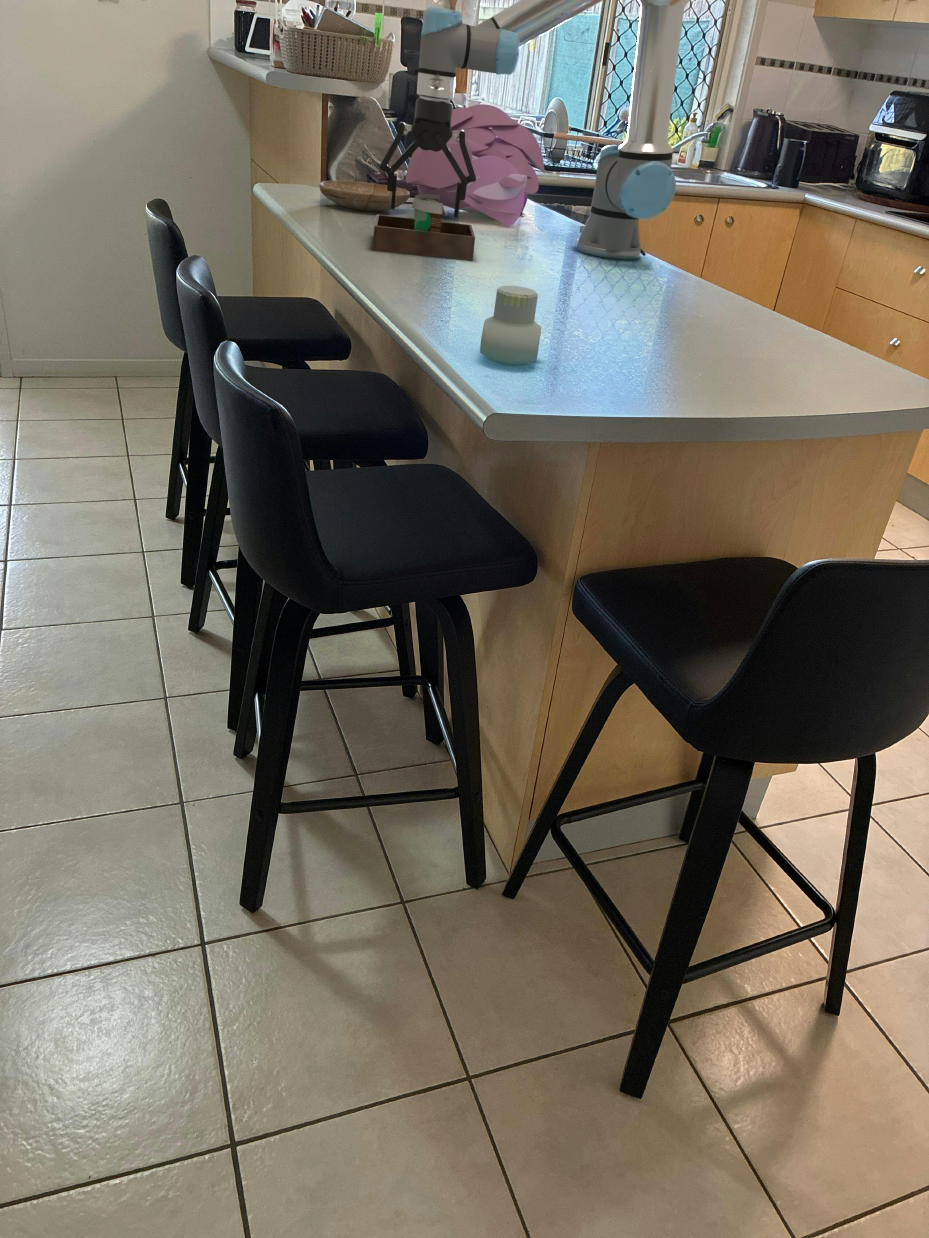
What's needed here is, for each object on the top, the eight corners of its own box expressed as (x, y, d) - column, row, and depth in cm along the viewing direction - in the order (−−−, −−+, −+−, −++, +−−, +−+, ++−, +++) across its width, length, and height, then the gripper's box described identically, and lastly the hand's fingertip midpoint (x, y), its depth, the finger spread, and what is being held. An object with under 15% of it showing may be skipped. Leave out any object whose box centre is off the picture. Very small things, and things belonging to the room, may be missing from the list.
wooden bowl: (425, 212, 242) (427, 192, 239) (371, 219, 225) (372, 197, 222) (357, 197, 251) (357, 177, 249) (299, 202, 234) (300, 181, 231)
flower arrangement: (521, 235, 257) (540, 124, 248) (545, 234, 236) (568, 112, 227) (399, 211, 248) (415, 95, 239) (413, 206, 227) (431, 79, 218)
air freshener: (483, 346, 139) (491, 278, 134) (537, 354, 139) (547, 286, 134) (477, 366, 130) (485, 294, 125) (534, 374, 130) (545, 302, 124)
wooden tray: (469, 247, 207) (471, 224, 204) (472, 261, 194) (475, 237, 192) (375, 237, 205) (376, 214, 202) (372, 250, 192) (374, 226, 189)
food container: (407, 240, 204) (411, 192, 199) (435, 243, 205) (439, 195, 200) (409, 251, 194) (413, 200, 188) (438, 254, 194) (443, 203, 189)
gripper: (372, 91, 180) (365, 207, 191) (497, 109, 182) (483, 222, 194) (373, 90, 186) (366, 202, 197) (494, 106, 189) (480, 216, 200)
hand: (424, 212), depth 196 cm, fingers open, 13 cm apart
